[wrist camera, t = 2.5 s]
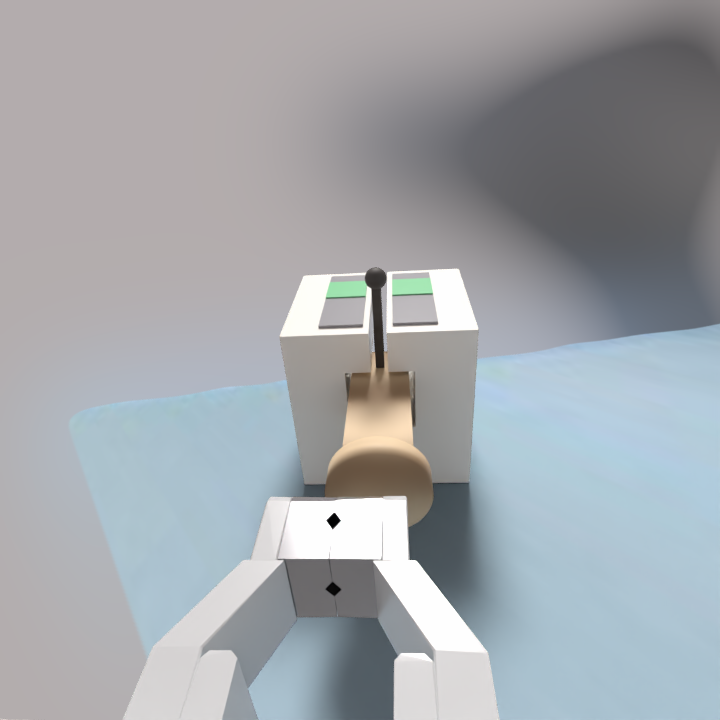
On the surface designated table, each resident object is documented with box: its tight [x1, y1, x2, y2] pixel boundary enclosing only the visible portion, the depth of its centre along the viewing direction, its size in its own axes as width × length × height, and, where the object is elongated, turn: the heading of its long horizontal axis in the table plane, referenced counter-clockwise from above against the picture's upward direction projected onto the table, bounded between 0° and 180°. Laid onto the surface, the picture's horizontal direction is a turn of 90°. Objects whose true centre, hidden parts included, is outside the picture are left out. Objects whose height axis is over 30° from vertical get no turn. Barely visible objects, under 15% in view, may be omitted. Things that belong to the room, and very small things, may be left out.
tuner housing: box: [280, 269, 479, 484], centre depth 40 cm, size 11×13×14 cm
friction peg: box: [325, 267, 434, 527], centre depth 31 cm, size 12×6×12 cm, turn 177°
